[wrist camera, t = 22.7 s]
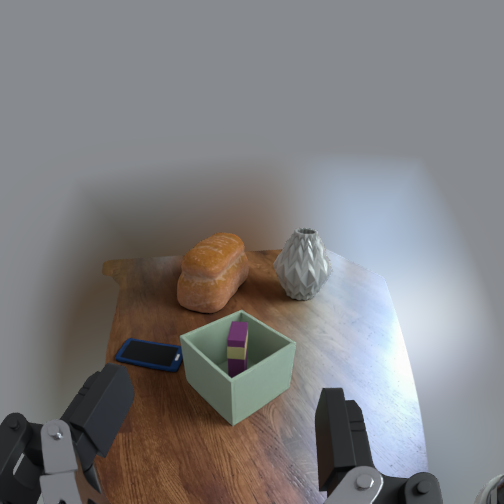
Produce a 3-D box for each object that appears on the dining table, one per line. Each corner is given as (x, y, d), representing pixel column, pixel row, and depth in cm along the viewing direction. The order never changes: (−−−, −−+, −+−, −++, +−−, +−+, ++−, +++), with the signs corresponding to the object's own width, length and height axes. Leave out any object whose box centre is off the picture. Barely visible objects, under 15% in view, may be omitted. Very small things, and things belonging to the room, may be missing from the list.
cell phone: (177, 372, 49) (176, 370, 49) (114, 360, 50) (113, 357, 50) (187, 349, 56) (186, 346, 56) (128, 340, 57) (127, 337, 57)
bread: (172, 307, 72) (166, 252, 66) (213, 269, 95) (212, 225, 90) (219, 318, 68) (218, 260, 63) (252, 275, 91) (253, 229, 86)
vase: (260, 292, 81) (262, 229, 75) (297, 276, 91) (302, 220, 85) (304, 315, 70) (312, 245, 63) (339, 294, 80) (348, 233, 73)
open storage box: (241, 353, 56) (241, 309, 52) (289, 387, 47) (296, 342, 43) (186, 381, 48) (179, 335, 44) (232, 426, 39) (230, 382, 35)
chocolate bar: (232, 373, 50) (231, 320, 45) (247, 374, 49) (248, 322, 45) (228, 392, 45) (226, 339, 41) (244, 394, 45) (245, 341, 40)
